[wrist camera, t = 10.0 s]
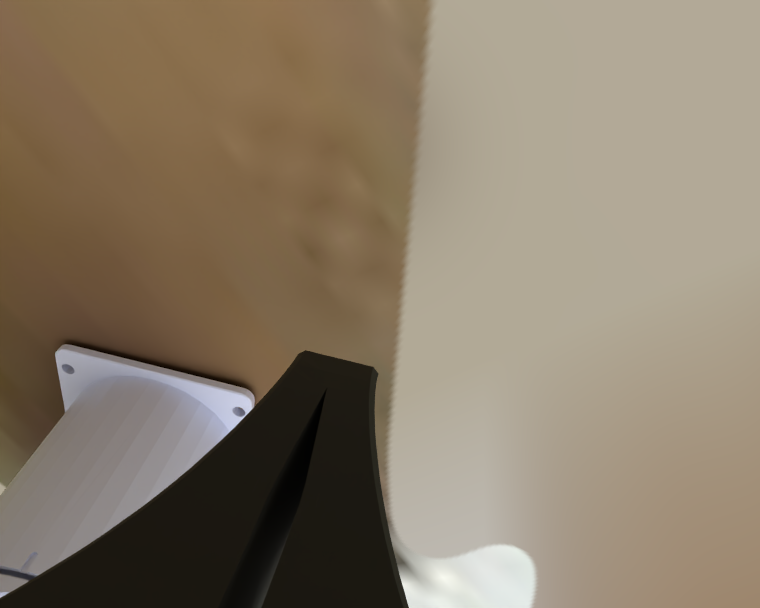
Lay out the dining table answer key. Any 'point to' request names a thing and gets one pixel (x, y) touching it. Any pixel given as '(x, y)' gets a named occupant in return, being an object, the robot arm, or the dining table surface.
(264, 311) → the dining table surface
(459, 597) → the dining table surface
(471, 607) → the dining table surface
